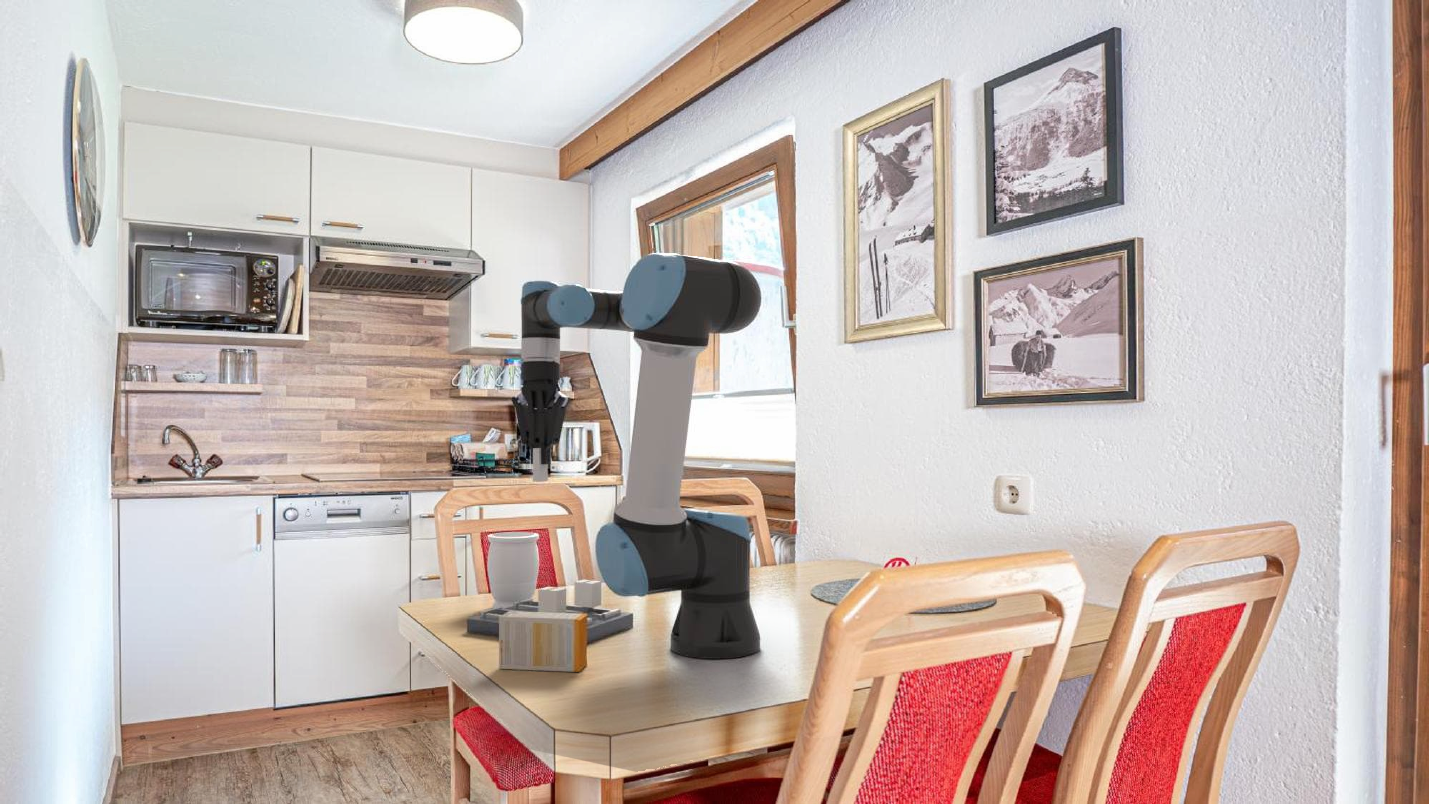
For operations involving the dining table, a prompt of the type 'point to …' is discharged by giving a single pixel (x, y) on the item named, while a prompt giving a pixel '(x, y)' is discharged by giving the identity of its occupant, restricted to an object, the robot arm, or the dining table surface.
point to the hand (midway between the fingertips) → (540, 481)
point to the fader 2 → (587, 594)
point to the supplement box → (543, 641)
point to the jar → (512, 567)
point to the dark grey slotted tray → (597, 621)
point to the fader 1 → (552, 600)
